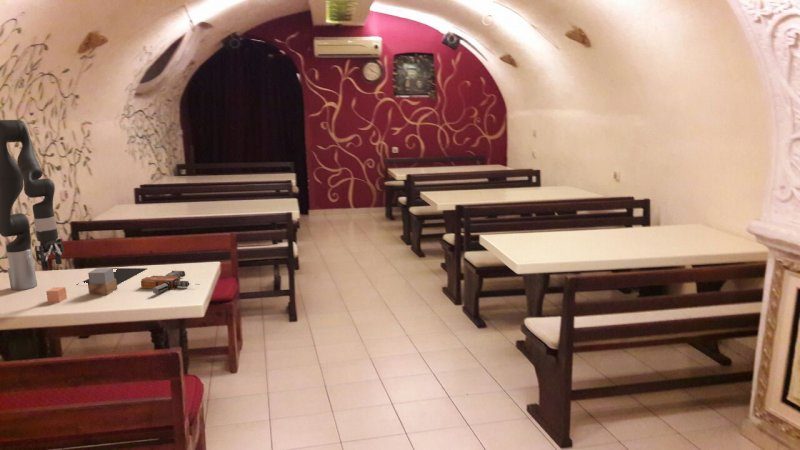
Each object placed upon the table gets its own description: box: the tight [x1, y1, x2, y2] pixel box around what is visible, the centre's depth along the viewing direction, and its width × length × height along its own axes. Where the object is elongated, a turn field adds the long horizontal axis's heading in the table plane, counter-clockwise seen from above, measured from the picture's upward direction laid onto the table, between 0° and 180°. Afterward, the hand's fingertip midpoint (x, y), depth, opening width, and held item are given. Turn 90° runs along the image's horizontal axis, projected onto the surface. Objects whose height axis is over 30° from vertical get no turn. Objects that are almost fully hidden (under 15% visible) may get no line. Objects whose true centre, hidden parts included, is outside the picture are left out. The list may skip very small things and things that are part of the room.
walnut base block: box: [87, 279, 118, 296], centre depth 252 cm, size 8×8×5 cm
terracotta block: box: [45, 286, 68, 304], centre depth 243 cm, size 5×5×5 cm
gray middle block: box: [87, 267, 114, 284], centre depth 251 cm, size 7×7×5 cm
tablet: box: [76, 267, 148, 286], centre depth 276 cm, size 27×1×20 cm
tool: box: [140, 270, 201, 294], centre depth 259 cm, size 4×27×30 cm
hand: (52, 266), depth 241 cm, fingers open, 8 cm apart
